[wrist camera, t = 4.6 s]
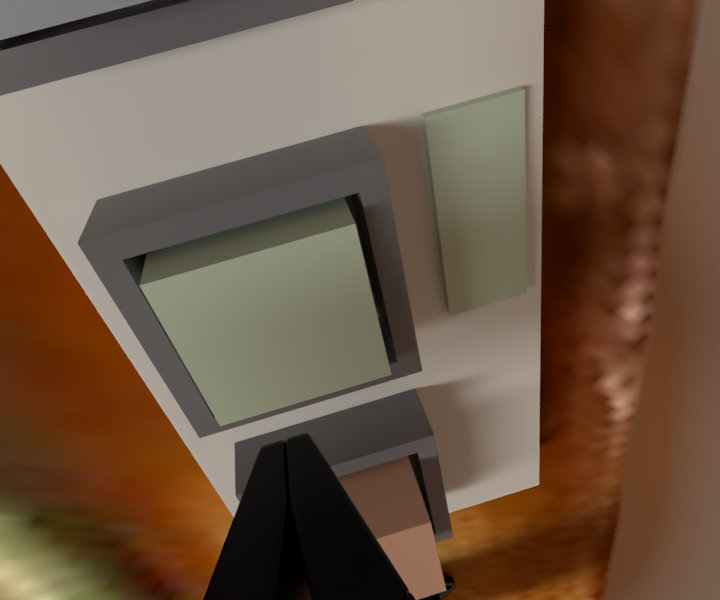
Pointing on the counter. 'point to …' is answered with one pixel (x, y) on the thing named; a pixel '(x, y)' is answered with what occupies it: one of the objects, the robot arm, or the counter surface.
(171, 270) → the sage button
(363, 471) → the terracotta button
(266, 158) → the button panel
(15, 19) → the slate button
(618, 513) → the counter surface
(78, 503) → the counter surface
